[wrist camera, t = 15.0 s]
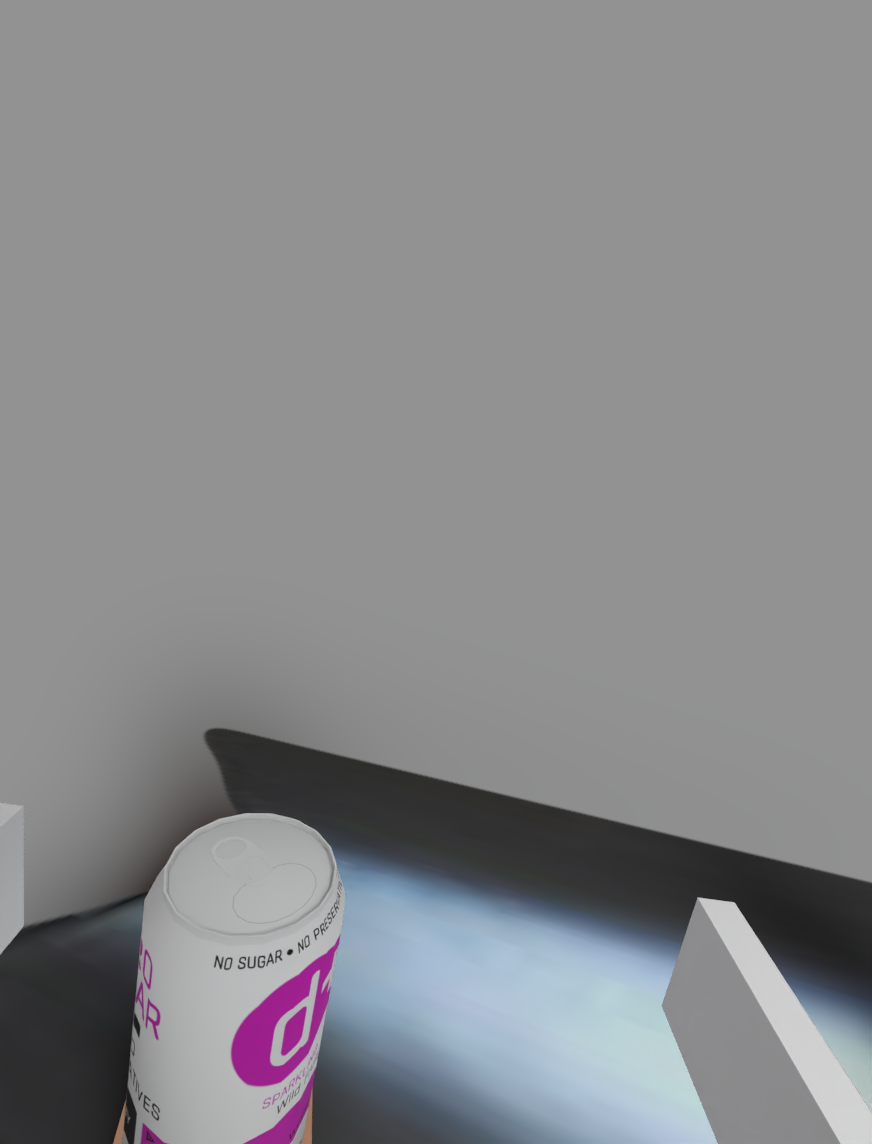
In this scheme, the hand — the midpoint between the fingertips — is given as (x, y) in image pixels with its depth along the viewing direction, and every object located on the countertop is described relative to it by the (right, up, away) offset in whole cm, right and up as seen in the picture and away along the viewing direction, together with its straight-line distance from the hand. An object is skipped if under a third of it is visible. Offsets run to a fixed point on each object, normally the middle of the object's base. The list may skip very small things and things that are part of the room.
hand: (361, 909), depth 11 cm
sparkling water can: (-9, -20, +16) cm, 28 cm away
